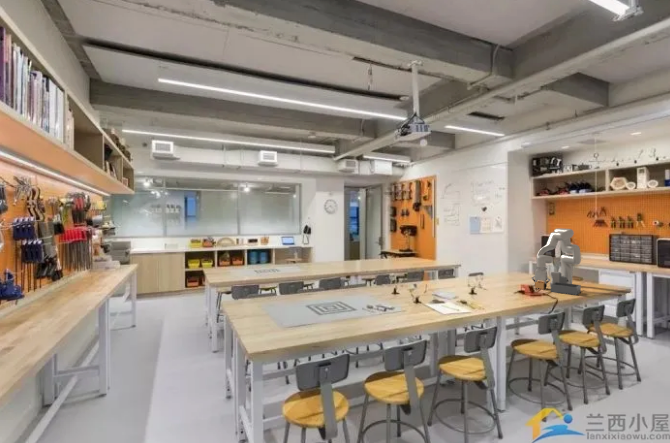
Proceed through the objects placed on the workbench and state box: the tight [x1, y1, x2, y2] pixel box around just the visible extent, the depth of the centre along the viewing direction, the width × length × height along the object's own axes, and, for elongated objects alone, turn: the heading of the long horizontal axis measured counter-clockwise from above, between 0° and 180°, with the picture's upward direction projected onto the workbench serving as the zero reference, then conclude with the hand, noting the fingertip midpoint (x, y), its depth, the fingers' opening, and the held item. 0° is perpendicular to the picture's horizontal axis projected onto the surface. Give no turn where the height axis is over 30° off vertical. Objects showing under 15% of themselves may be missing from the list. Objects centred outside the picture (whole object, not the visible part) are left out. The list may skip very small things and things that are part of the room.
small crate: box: [534, 280, 546, 291], centre depth 335 cm, size 10×7×6 cm
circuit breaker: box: [549, 271, 568, 288], centre depth 340 cm, size 8×14×15 cm, turn 64°
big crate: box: [550, 282, 582, 297], centre depth 319 cm, size 18×20×7 cm
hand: (540, 286), depth 335 cm, fingers closed on small crate, 7 cm apart
